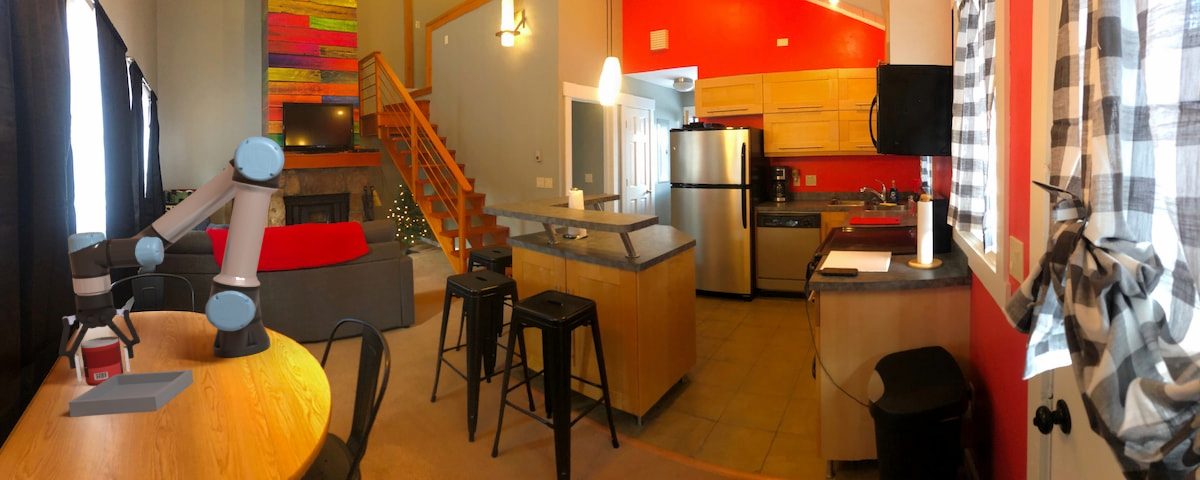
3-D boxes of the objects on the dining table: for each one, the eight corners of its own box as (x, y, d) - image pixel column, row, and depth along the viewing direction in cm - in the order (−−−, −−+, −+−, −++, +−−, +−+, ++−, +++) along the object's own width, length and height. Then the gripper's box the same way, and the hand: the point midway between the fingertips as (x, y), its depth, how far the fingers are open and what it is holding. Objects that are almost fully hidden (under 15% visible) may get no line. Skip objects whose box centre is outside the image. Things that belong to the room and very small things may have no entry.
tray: (193, 382, 164) (191, 369, 163) (156, 410, 146) (155, 396, 146) (117, 387, 161) (115, 374, 160) (70, 417, 143) (68, 402, 143)
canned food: (131, 377, 168) (125, 337, 167) (99, 388, 161) (93, 346, 159) (111, 374, 171) (106, 335, 169) (78, 384, 163) (73, 344, 162)
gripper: (144, 283, 172) (154, 362, 175) (37, 296, 158) (49, 381, 162) (146, 288, 166) (156, 369, 170) (35, 301, 153) (48, 389, 156)
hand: (104, 375), depth 166 cm, fingers open, 9 cm apart
